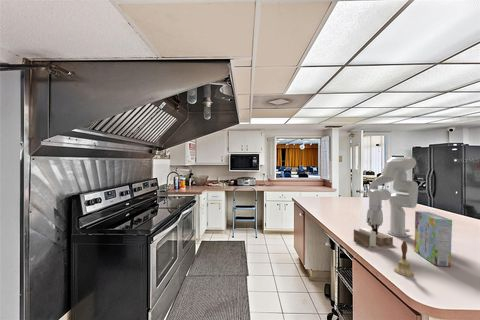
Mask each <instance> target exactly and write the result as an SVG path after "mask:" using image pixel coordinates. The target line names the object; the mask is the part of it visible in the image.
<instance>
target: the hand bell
mask: <svg viewBox="0 0 480 320" xmlns="http://www.w3.org/2000/svg"><path fill="white" fill-rule="evenodd" d="M400 249H401V253H402V254H401V255H402V256H401V259H400V260H398V264H397V266H396V267H395V268H394V269H393V271H394V272H395V273H396V274H398V275H400V276H405V277H414V275H415V274H414V272H413V271H412V269H411V267H410V262H408V261H407V252H408V245H407V241H405V240H402V243H401V245H400Z"/></svg>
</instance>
